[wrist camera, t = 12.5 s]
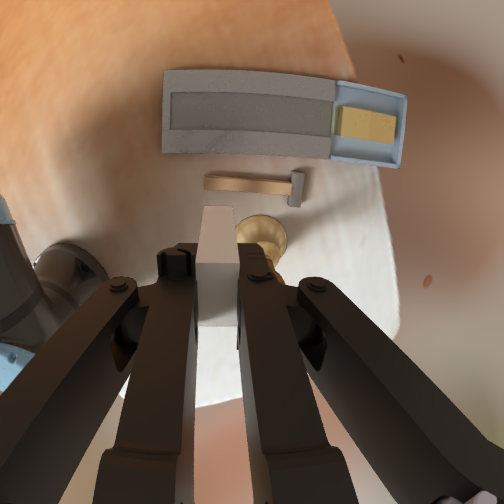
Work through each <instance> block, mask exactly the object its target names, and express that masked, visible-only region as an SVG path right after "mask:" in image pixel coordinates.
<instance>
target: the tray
mask: <svg viewBox="0 0 504 504" xmlns="http://www.w3.org/2000/svg"><path fill="white" fill-rule="evenodd" d="M407 101H408V95H403V94H400V93H396V92H392V91H388V90H384V89H380V88H375V87H371V86H367V85H362V84H357V83H352V82H347V81H341V80H339V81H336V86H335V100H334V102H332V113H331V125H330V136H329V137H330V138H331V146H330V156H329V159H330V160H332V161H340V162H349V163H358V164H366V165H374V166H382V167H389V168H396V169H400V164H401V157H402V150H403V141H404V133H405V123H406V113H407ZM335 106H346V107H351V108H357V109H362V110H368V111H372V112H377V113H382V114H386V115H391V116H395V117H396V124H395V133H394V141H393V144H387V143H382V142H376V141H370V140H365V139H358V138H351V137H344V136H339V135H334V134H333V128H334V117H335Z"/></svg>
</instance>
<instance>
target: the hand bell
mask: <svg viewBox="0 0 504 504" xmlns="http://www.w3.org/2000/svg"><path fill="white" fill-rule="evenodd" d="M235 230H236V238H237V243H257V244H259V245H260V246H261V247H262V248H263V250H264V253H265V256H266V260H267V263H268V266H269V270H270V271H271V272H273V273H274V274H275V275H276V276H277V279H278V282H279V283H282V284H284V285H285V282H284V280H283V278H282V277H281V275H280V274H279V273H277V272H276V271H275V268H274V267H275V266H276V265H277V264H278V262H279V259H280V257H281V256H282V254H283V253H284V251H285V248H286V245H287V236H286V232H285V230H284V228H283V226H282V225H281V224H280V223H279V222H278V221H277V220H275V219H274V218H271V217H269V216H264V215H256V216H252V217H249V218H246V219H244V220H243V221H242V222H240V223H239V224H238V225H237V226H236V228H235Z"/></svg>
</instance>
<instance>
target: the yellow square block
mask: <svg viewBox="0 0 504 504" xmlns="http://www.w3.org/2000/svg"><path fill="white" fill-rule="evenodd" d="M370 117H371V111H368V110H362V109H357V108H351V107H346V106H335V117H334V128H333V134H334V135H339V136H344V137H351V138H358V139H365V140H368V136H369V127H370Z"/></svg>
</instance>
